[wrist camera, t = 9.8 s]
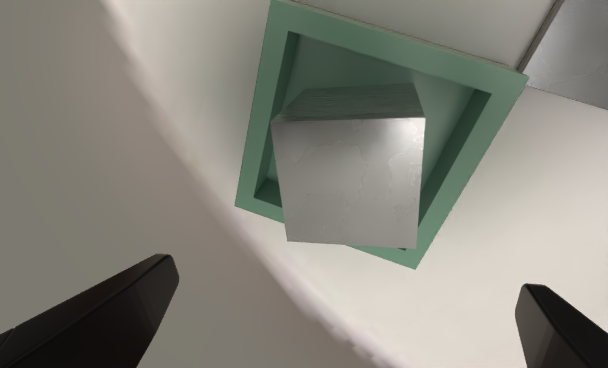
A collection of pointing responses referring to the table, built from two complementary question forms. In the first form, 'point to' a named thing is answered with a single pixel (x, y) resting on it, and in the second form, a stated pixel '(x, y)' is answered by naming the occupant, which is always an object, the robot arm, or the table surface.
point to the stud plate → (571, 52)
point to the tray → (377, 71)
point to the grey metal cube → (351, 165)
